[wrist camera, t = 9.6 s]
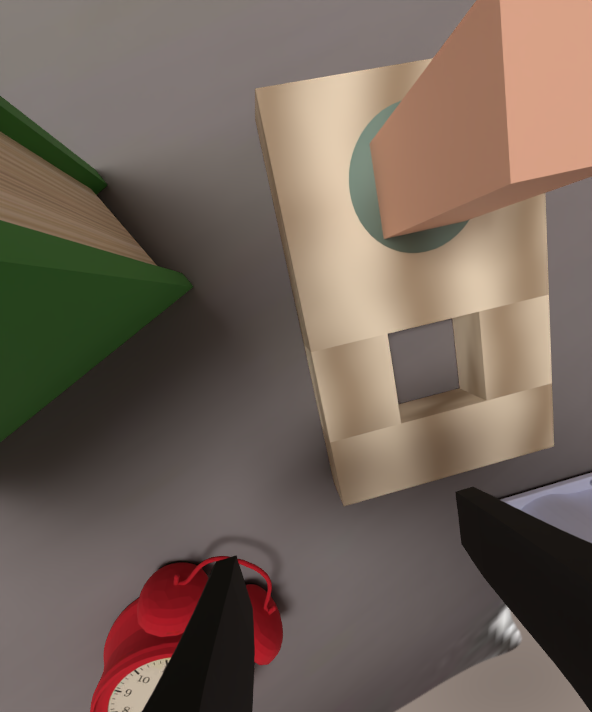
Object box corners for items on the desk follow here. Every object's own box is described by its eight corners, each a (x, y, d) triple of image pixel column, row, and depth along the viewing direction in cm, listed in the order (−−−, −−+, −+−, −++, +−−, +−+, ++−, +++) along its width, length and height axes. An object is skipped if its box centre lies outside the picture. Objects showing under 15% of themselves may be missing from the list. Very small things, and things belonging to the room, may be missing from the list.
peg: (455, 126, 15) (670, -55, 7) (463, 221, 16) (662, 151, 8) (369, 143, 15) (497, -29, 7) (383, 239, 16) (510, 183, 8)
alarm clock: (43, 766, 18) (120, 638, 13) (103, 637, 24) (171, 514, 19) (206, 794, 20) (324, 693, 15) (225, 669, 26) (314, 566, 21)
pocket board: (499, 76, 17) (541, 38, 15) (521, 429, 22) (555, 447, 19) (255, 119, 16) (255, 87, 14) (333, 481, 21) (344, 507, 18)
